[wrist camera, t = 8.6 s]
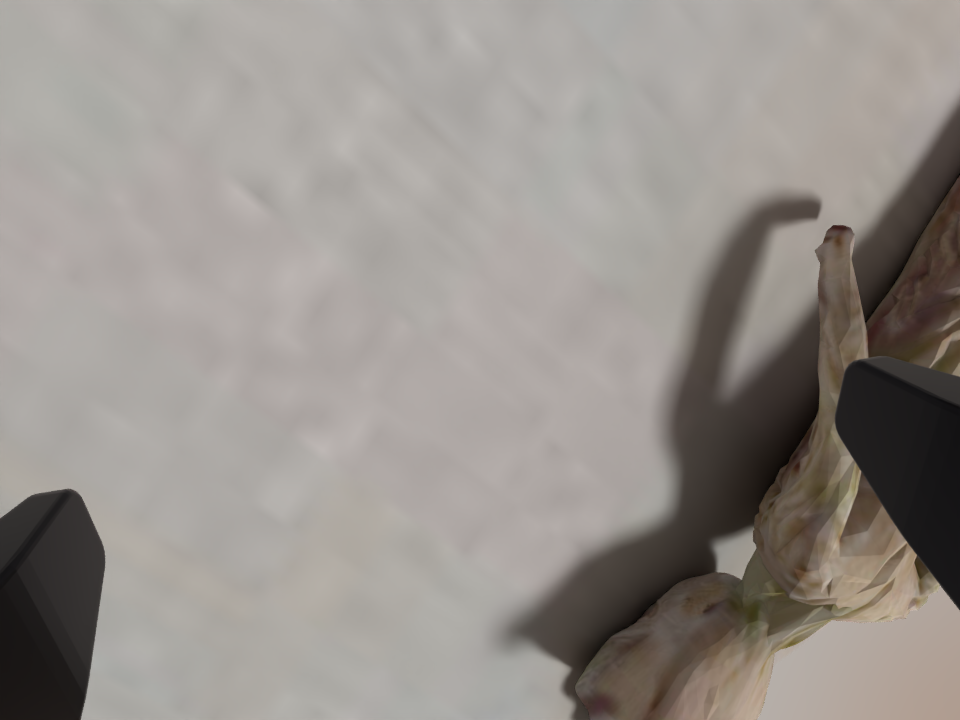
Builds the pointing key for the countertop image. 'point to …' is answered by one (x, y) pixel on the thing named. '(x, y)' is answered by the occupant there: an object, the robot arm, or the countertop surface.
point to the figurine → (798, 519)
